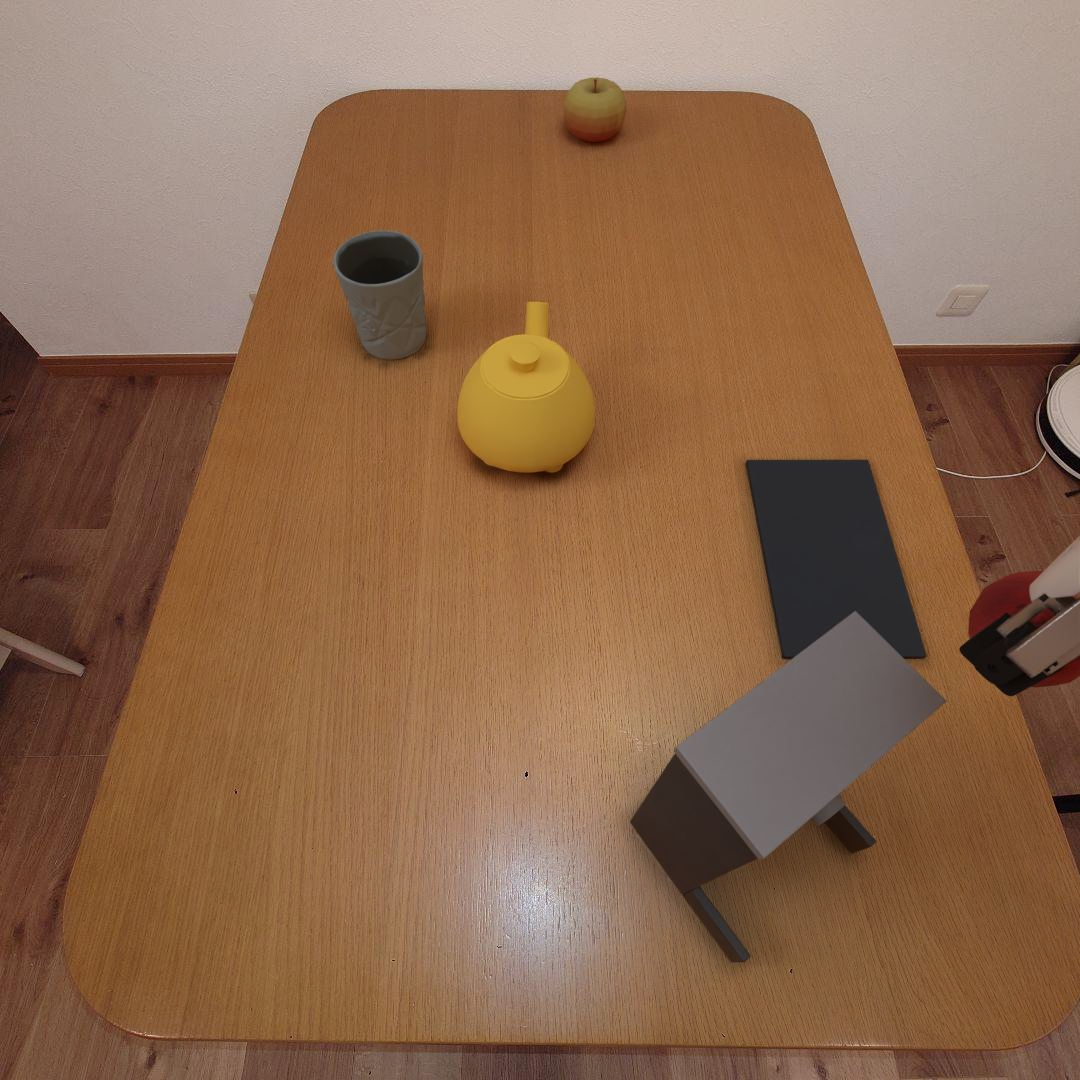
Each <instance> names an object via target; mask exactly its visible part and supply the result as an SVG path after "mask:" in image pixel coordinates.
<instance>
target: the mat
mask: <svg viewBox="0 0 1080 1080" xmlns="http://www.w3.org/2000/svg"><path fill="white" fill-rule="evenodd" d="M745 467H746V471H747V477H748V482H749V488H750V493H751V498H752V504H753V509H754V515H755V519H756V524H757V525H756V526H757V530H758V536H759V540H760V545H761V550H762V551H761V552H762V557H763V562H764V566H765V567H764V568H765V572H766V578H767V584H768V588H769V593H770V598H771V604H772V609H773V615H774V619H775V624H776V625H775V626H776V629H777V631H776V632H777V636H778V642H779V647H780V651H781V658H782V659H783V660H791V659H793V658H794V657H795V656H796V655H798V654H799V653H800V652H802V651H803V650H804V649H806V648H807V647H808V646H810V645H811V644H812V643H814V642H815V641H816V640H818V639H819V638H820V637H822V636H823V635H824V634H826V633H827V632H828V631H829V630H831V629H832V628H833V627H835V626H836V625H837V624H839V623H840V622H841V621H843V620H844V619H845V618H847V617H848V616H849V615H851V614H852V613H853V612H855V611H856V612H857V613H858V614H859V615H860V616H861V617H862V618H863V619H864V620H865V621H866V622H867V623H868V624H869V625H870V626H871V627H872V628H873V629H874V630H875V631H876V632H877V633H878V634H879V635H880V636H881V637H882V638H883V639H884V640H885V641H887V642H888V643H889V644H890V645H891V646H892V647H893V648H894V649H895V650H896V651H897V652H898V653H899V654H900V655H901V656H902V657H903V658H904V659H925V658H927V653H926V649H925V646H924V642H923V638H922V634H921V632H920V628H919V625H918V622H917V618H916V615H915V612H914V608H913V605H912V602H911V599H910V595H909V593H908V592H909V591H908V588H907V584H906V581H905V578H904V575H903V571H902V567H901V565H900V562H899V559H898V555H897V551H896V548H895V544H894V541H893V538H892V535H891V531H890V528H889V525H888V521H887V518H886V515H885V511H884V507H883V505H882V501H881V498H880V495H879V491H878V487H877V483H876V481H875V477H874V475H873V471H872V467H871V464H870V460H869V459H746V461H745Z"/></svg>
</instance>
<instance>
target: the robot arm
mask: <svg viewBox="0 0 1080 1080" xmlns="http://www.w3.org/2000/svg"><path fill="white" fill-rule="evenodd" d="M1042 571H1043V572H1042V573H1041V574H1040V575H1039V576H1038V577H1037V578H1036V580H1035V581H1034V582H1033V583H1032V584H1031V585H1030V589H1029V593H1030V598H1031V602H1030V603H1029V604H1027V605H1026V606H1025V607H1023V608H1022V609H1021V610H1019V611H1018V612H1017V613H1016V614H1014V615H1013V616H1011V615H1009V614H1008V613H1007V612H1006V613H1005V614H1003V615H1002V616H1001V617H999V618H998V619H997V620H995V621H994V622H992V623H991V624H990V625H988V626H987V627H986V628H984V629H983V630H981V631H980V632H979V633H977V634H976V635H975V636H973V637H972V638H971V639H970V638H968V640H966V641H965V642H964V643H963V644H962V645H960V646H959V648H958V650H959V652H960V654H961V656H963V658H965V659H966V660H967V661H968V662H969V663H970V664H971V665H973V667H974V669H975V670H976V671H977V673H978V674H980V675H981V677H983V678H984V679H985V680H986V681H987V682H989V683H990V684H992V685H994V686H995V687H996V688H997V689H998V690H999V691H1000V692H1001V693H1002V694H1004V695H1005V696H1007V697H1014V696H1017V695H1018V694H1020V693H1022V692H1024V691H1026V690H1027V689H1029V688H1032V687H1031V686H1033V685H1035V684H1037V683H1039V682H1040V681H1042V680H1044V679H1046V678H1048V677H1050V676H1051V675H1053V674H1055V673H1057V672H1059V671H1060V670H1061V669H1062V668H1064V667H1065V666H1066V664H1067V663H1069V662H1070V661H1072V660H1073V659H1075V658H1076V657H1078V656H1079V655H1080V597H1079V598H1077V599H1075V598H1073V597H1072V596H1075V595H1076V594H1078V593H1080V534H1079V535H1078V536H1077V537H1075V539H1074V540H1073V541H1072V542H1071V543H1070V544H1069V545H1068V546H1067V547H1066V548H1065V549H1064V550H1063V551H1062V552H1061V553H1060V554H1059V555H1058V556H1056V558H1055V559H1054V560H1052V562H1051V563H1050V564H1049V565H1048V566H1047V567H1046V568H1045V569H1044V570H1042ZM1046 608H1048V609H1049V610H1051V611H1052V612H1053V613H1054V614H1055V616H1054V617H1053V618H1051V619H1050V620H1049V621H1047V622H1046V623H1045V624H1044V625H1042V626H1041V627H1040V628H1037V627H1035V626H1034V625H1033V624H1032V623H1031V622H1030V620H1031V619H1032V618H1034V617H1035V616H1037V615H1038V614H1039V613H1041V612H1042V611H1043V610H1045V609H1046Z"/></svg>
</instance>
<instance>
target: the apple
mask: <svg viewBox="0 0 1080 1080" xmlns="http://www.w3.org/2000/svg"><path fill="white" fill-rule="evenodd" d="M563 101H564V102H563V120H564V124H565V125H566V127H567V128H568V130H569V132H570V133H571V135H572V136H574V137H576V138H578V139H579V140H581V141H585V142H588V143H599V142H604V141H606V140H608V139H610V138H612V137H613V136H614V135H616V134H617V133H618V132H619V131H620V129H621V127H622V126H623V124H624V121H625V118H626V114H627V100H626V98H625V95H624V91H623V89H622V88H621V87H620V86H619V85H618V84H617V82H615V81H613V80H610V79H608V78H604V77H588V78H583V79H581V80H578V81H576V82H574V84H573V85H572V86H571V87H570V89H568V91H567V92H566V94H565V96H564V100H563Z"/></svg>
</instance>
